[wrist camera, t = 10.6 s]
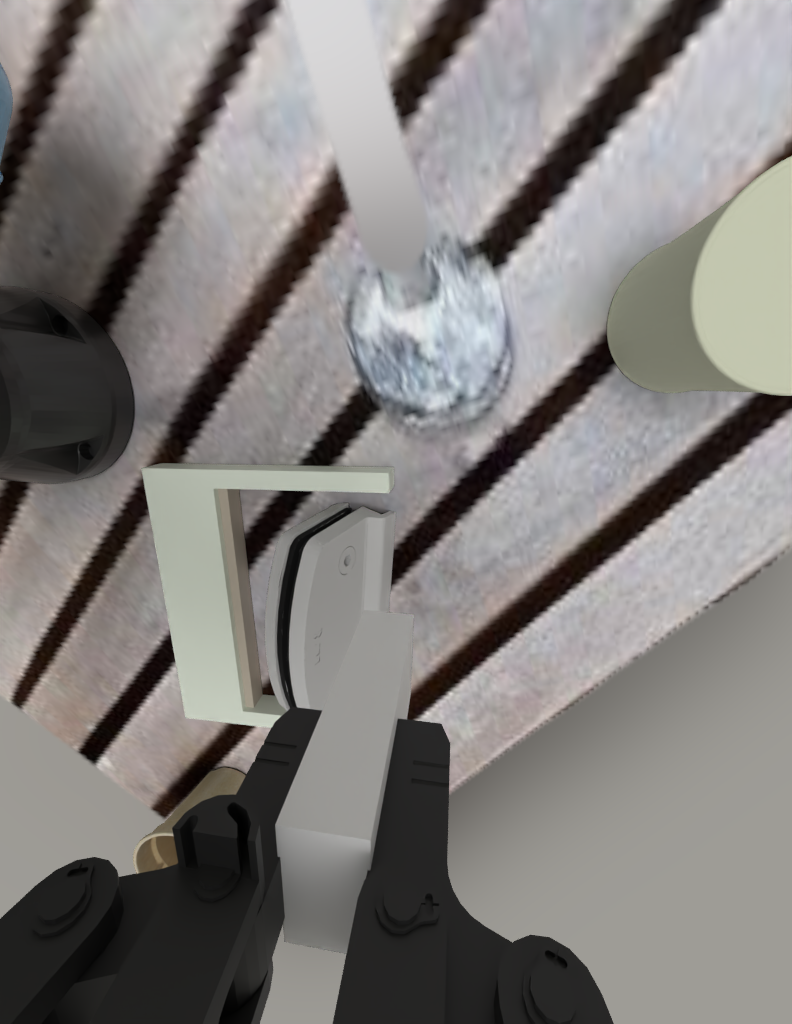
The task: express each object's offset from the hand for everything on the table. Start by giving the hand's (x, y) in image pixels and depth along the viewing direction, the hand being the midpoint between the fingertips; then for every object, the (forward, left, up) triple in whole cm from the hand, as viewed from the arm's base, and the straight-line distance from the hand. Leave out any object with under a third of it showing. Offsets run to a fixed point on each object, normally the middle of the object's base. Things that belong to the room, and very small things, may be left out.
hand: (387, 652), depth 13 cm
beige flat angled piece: (-13, -10, -22) cm, 27 cm away
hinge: (-8, -10, -22) cm, 25 cm away
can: (+16, +12, -22) cm, 29 cm away
